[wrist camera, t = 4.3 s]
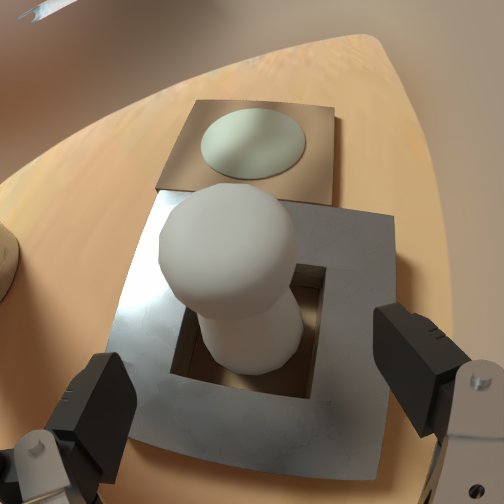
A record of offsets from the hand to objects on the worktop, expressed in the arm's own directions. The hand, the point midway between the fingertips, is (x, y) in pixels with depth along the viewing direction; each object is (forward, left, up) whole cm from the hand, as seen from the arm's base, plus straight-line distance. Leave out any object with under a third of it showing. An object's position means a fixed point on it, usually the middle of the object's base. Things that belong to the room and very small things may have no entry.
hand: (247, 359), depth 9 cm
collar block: (-1, +3, -11) cm, 11 cm away
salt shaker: (-1, +3, -11) cm, 11 cm away
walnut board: (-4, +19, -11) cm, 22 cm away
